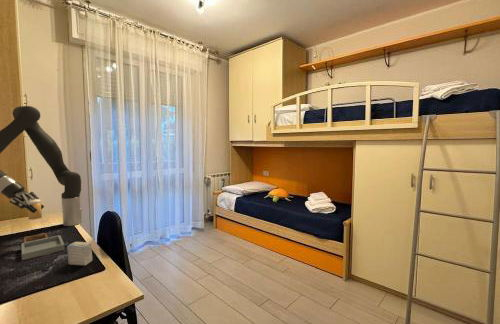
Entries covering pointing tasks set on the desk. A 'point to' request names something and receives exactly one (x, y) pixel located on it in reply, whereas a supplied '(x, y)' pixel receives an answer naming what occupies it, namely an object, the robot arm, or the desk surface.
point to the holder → (35, 237)
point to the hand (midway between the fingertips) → (39, 209)
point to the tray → (42, 247)
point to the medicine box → (79, 253)
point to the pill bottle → (37, 205)
